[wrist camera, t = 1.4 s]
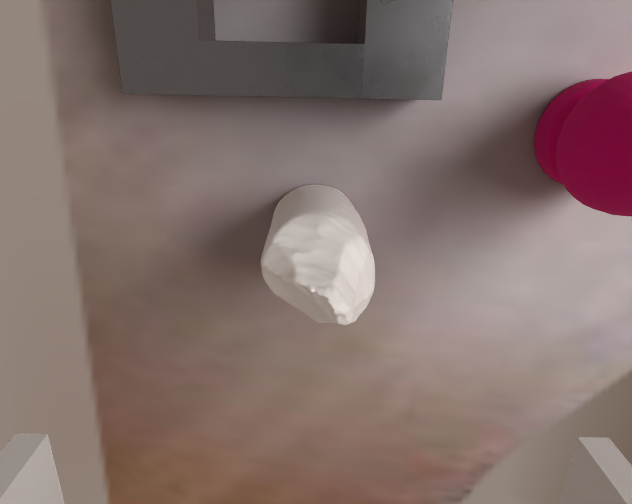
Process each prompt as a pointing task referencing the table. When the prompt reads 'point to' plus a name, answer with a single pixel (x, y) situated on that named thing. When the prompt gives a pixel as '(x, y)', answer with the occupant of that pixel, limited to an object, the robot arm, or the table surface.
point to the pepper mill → (590, 143)
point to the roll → (319, 255)
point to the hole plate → (282, 54)
